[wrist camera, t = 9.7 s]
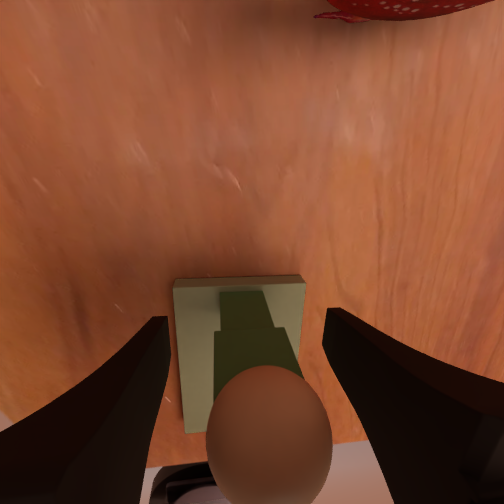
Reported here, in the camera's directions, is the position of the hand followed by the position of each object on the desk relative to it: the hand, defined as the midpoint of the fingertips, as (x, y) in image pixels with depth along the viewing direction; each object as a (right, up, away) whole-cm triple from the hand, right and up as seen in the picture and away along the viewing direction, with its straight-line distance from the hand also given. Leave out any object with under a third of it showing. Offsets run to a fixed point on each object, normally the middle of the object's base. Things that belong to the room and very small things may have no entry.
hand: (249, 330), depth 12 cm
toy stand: (-1, -4, +7) cm, 8 cm away
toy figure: (0, -2, 0) cm, 2 cm away
